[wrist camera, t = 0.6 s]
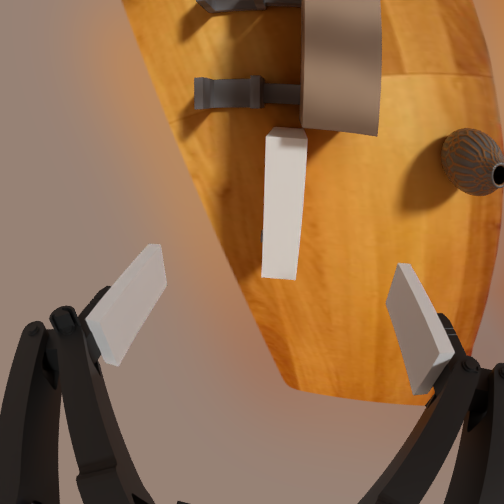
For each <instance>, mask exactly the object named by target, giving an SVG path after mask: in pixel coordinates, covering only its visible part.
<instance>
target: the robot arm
mask: <svg viewBox="0 0 504 504" xmlns="http://www.w3.org/2000/svg"><path fill="white" fill-rule="evenodd" d="M166 286H167V281H166V275H165V269H164V263H163V256H162V250H161V245H159V244H148V245H147V246H146V247H145V249H144V250H143V251H142V252H141V253H140V254H139V255H138V257H137V258H136V259H135V260H134V261H133V262H132V263H131V264H130V265H129V267H128V268H127V269H126V270H125V271H124V273H123V274H122V275H121V276H120V277H119V278H118V280H117V281H116V282H115V283H114V284H113V285H112V286H106V287H105V288H103V289H102V290H100V291H99V292H98V293H97V294H96V295H95V297H94V299H92V300H91V301H90V304H88V305H87V306H86V307H85V309H84V310H83V311H82V312H81V314H80V315H79V316H78V317H77V314H76V312H75V309H74V308H73V307H71V306H62V307H59V308H57V309H56V310H54V311H53V312H52V313H51V315H50V318H49V319H50V322H51V324H52V326H53V328H54V329H51V330H50V329H49V330H48V329H46V328H45V326H44V324H43V323H42V322H40V321H35V322H31V323H29V324H28V325H27V326H26V327H25V328H24V330H23V332H22V335H21V338H20V341H19V344H18V347H17V350H16V353H15V356H14V360H13V363H12V367H11V370H10V374H9V378H8V382H7V386H6V390H5V394H4V399H3V403H2V408H1V414H0V504H60V500H59V478H58V437H59V436H58V435H59V418H60V405H61V395H62V396H63V402H64V408H65V413H66V419H67V424H68V428H69V433H70V437H71V441H72V445H73V449H74V453H75V457H76V461H77V464H78V467H79V471H80V473H79V475H78V476H77V478H76V481H77V486H78V489H79V492H80V494H81V498H82V501H83V503H84V504H155V503H154V501H153V499H152V498H151V496H150V494H149V493H148V492H147V490H146V489H145V487H144V486H143V484H142V482H141V480H140V478H139V475H138V473H137V471H136V469H135V467H134V464H133V462H132V460H131V458H130V455H129V452H128V450H127V448H126V445H125V442H124V440H123V437H122V434H121V432H120V429H119V426H118V423H117V421H116V418H115V415H114V412H113V409H112V406H111V402H110V399H109V396H108V393H107V389H106V386H105V382H104V379H103V375H102V372H101V367H100V364H99V362H98V358H99V357H100V355H102V357H103V359H104V361H105V363H108V364H112V365H115V366H119V365H120V363H121V361H122V359H123V358H124V356H125V354H126V352H127V351H128V349H129V347H130V345H131V344H132V342H133V340H134V339H135V337H136V335H137V333H138V332H139V330H140V329H141V327H142V325H143V323H144V322H145V320H146V318H147V317H148V315H149V314H150V312H151V310H152V309H153V307H154V305H155V304H156V302H157V300H158V299H159V297H160V296H161V294H162V292H163V291H164V289H165V288H166ZM386 306H387V309H388V312H389V314H390V317H391V320H392V323H393V327H394V330H395V333H396V336H397V339H398V342H399V346H400V349H401V352H402V356H403V359H404V363H405V366H406V370H407V374H408V377H409V381H410V385H411V389H412V393H413V395H421V394H428V392H429V391H430V389H431V388H432V387H434V390H435V393H434V395H433V396H432V397H431V399H430V400H429V401H428V403H427V404H426V405H425V406H426V409H425V411H424V412H423V414H422V416H421V418H420V419H419V421H418V423H417V424H416V426H415V427H414V429H413V431H412V432H411V434H410V435H409V437H408V438H407V440H406V442H405V443H404V445H403V446H402V448H401V449H400V450H399V452H398V453H397V455H396V456H395V457H394V459H393V460H392V462H391V463H390V464H389V466H388V467H387V468H386V470H385V471H384V472H383V474H382V475H381V476H380V477H379V479H378V480H377V481H376V482H375V484H374V485H373V486H372V487H371V489H370V490H369V491H368V492H367V494H366V495H365V496H364V497H363V498H362V499H361V500H360V501H359V503H358V504H419V503H420V501H421V500H422V498H423V497H424V495H425V494H426V492H427V491H428V489H429V487H430V486H431V484H432V482H433V481H434V479H435V477H436V476H437V474H438V472H439V470H440V468H441V467H442V465H443V463H444V461H445V459H446V457H447V455H448V453H449V451H450V449H451V447H452V445H453V443H454V441H455V439H456V437H457V434H458V432H459V430H460V427H461V425H462V423H463V421H464V424H463V429H462V435H461V440H460V446H459V450H458V454H457V459H456V463H455V467H454V471H453V475H452V478H451V482H450V485H449V489H448V492H447V495H446V498H445V501H444V504H504V363H498V364H497V365H496V366H495V367H494V368H493V370H489V369H484V368H481V367H480V365H479V363H478V362H477V360H475V359H474V358H473V357H470V356H466V353H465V351H464V349H463V347H462V345H461V343H460V341H459V338H458V336H457V335H456V332H455V330H454V329H453V326H452V324H451V322H450V320H449V319H448V318H447V317H446V316H445V315H444V314H443V313H436V311H435V309H434V307H433V305H432V303H431V301H430V299H429V297H428V295H427V294H426V292H425V290H424V288H423V286H422V284H421V283H420V281H419V279H418V277H417V275H416V274H415V272H414V270H413V268H412V267H411V265H410V264H405V263H398V264H397V268H396V271H395V275H394V278H393V281H392V285H391V288H390V291H389V294H388V297H387V300H386ZM177 504H188V503H185V502H181V501H178V502H177Z"/></svg>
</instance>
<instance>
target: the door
mask: <svg viewBox="0 0 504 504" xmlns="http://www.w3.org/2000/svg"><path fill="white" fill-rule="evenodd" d="M307 143H308V139H307V136H306V133H305V131H304V129H301V128H286V127H273V129H272V130H271V131H270V132H269V133H268V135H267V136H266V150H265V187H264V220H263V230H262V231H261V242H263V250H262V277H266V278H278V279H290V280H296V273H297V263H298V254H299V244H300V234H301V223H302V212H303V200H304V188H305V174H306V159H307Z"/></svg>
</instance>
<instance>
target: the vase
mask: <svg viewBox="0 0 504 504" xmlns="http://www.w3.org/2000/svg"><path fill="white" fill-rule="evenodd" d="M441 161H442V165H443V169H444V171H445V173H446V175H447V177H448V178H449V180H450V181H451V182H452V183H453V184H454V185H455V186H456V187H457V188H458V189H460V190H461V191H463V192H465V193H467V194H470V195H474V196H485V195H488V194H491V193H492V192H494V191H495V190H496V189H498V188H502V187H503V186H504V157H503V154H502V152H501V150H500V148H499V146H498V145H497V144H496V142H495V141H494V140H493V139H492V138H491V137H489V136H488V135H487V134H485V133H483V132H481V131H479V130H476V129H470V128H464V129H459V130H456V131H454V132H453V133H451V134H450V135H449V136H448V137H447V138H446V140H445V142H444V144H443V147H442V151H441Z"/></svg>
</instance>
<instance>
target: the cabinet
mask: <svg viewBox="0 0 504 504" xmlns="http://www.w3.org/2000/svg"><path fill="white" fill-rule="evenodd" d="M196 2H197V3H199V4H200V5H201V6H202V7H203V8H204V9H205V10H206V11H207V12H209V13H215V12H227V11H245V10H266V6H287V7H301V79H300V85H292V84H269V83H265V79H264V78H262V77H261V76H251V79H222V80H213V79H208V78H204V77H200V78H194V101H195V109H207V108H223V107H250V108H264V103H280V104H298V105H300V110H299V120H300V123H301V125H302V128H312V129H323V130H332V131H341V132H349V133H357V134H364V135H370V136H377V134H378V123H379V110H380V93H381V66H382V32H381V6H380V0H196Z"/></svg>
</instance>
